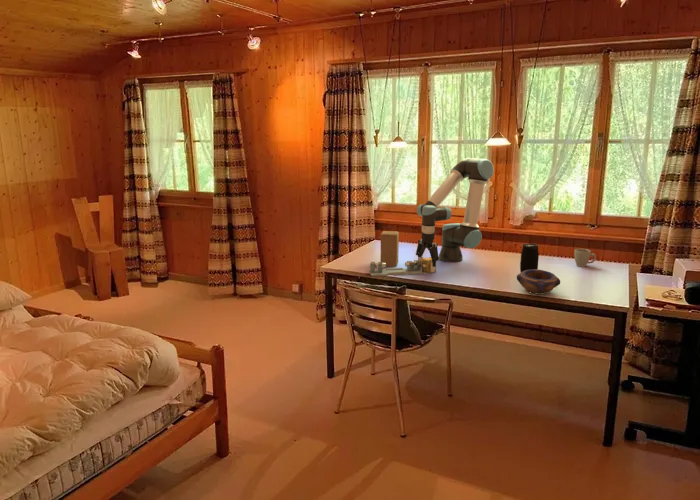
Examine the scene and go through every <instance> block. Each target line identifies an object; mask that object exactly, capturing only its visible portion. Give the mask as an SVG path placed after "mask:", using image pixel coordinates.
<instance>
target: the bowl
mask: <svg viewBox="0 0 700 500" xmlns="http://www.w3.org/2000/svg"><path fill="white" fill-rule="evenodd" d="M516 280H517V282H518V283H519V284H520V285H521V286H522V288H523V289H524V290H525V291H526V292H528V293H529V292H531V293H530V294H532V293H537V294H536V295H541V293H544V294H548V293H549V292H551V291H552V290H554V289H555V288H557V287H558V286H559V285H560V284H561V280H560V278H559V277H557V276H556V275H555V274H554V273H552V272H550V271H547V270H543V269H532V270H525V271H523V272H519V273H518V274H517V275H516Z"/></svg>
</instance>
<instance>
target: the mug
mask: <svg viewBox="0 0 700 500" xmlns="http://www.w3.org/2000/svg"><path fill="white" fill-rule="evenodd" d="M591 251H592V250H590V249H587V248H575V249H574V262H575V264H576V265H575V266H577V267H581V268H582V267H586V266H587V265H588V264H593V263H594V262H595V261H596V259H597V255H596V253H593V252H592V253H591ZM590 257H593V258H592V260H591V261H589V260H590Z"/></svg>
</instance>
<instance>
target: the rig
mask: <svg viewBox="0 0 700 500" xmlns="http://www.w3.org/2000/svg"><path fill="white" fill-rule="evenodd" d="M368 272H370V269H369V270H368ZM369 274H370V276H371V277H389V276H388V275H394V276H414V275H417V276H418V275H424V273H423V272H422V271H421V270H420V271H417V270H415V269H414V271H411V272H410V271H408V270H407V268H403V267H385V269H384V268H383V271H382V273H378V269H375V272H370V273H369Z"/></svg>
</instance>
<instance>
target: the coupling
mask: <svg viewBox="0 0 700 500" xmlns="http://www.w3.org/2000/svg"><path fill="white" fill-rule="evenodd" d="M431 261H432V258H431V256H428V257H423V259H422V266H421V271H422V272H423V274H426V273H427V274H426V275H428V273H429V274H432V273H436V272H437V265H436V266H435V272H431Z"/></svg>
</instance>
